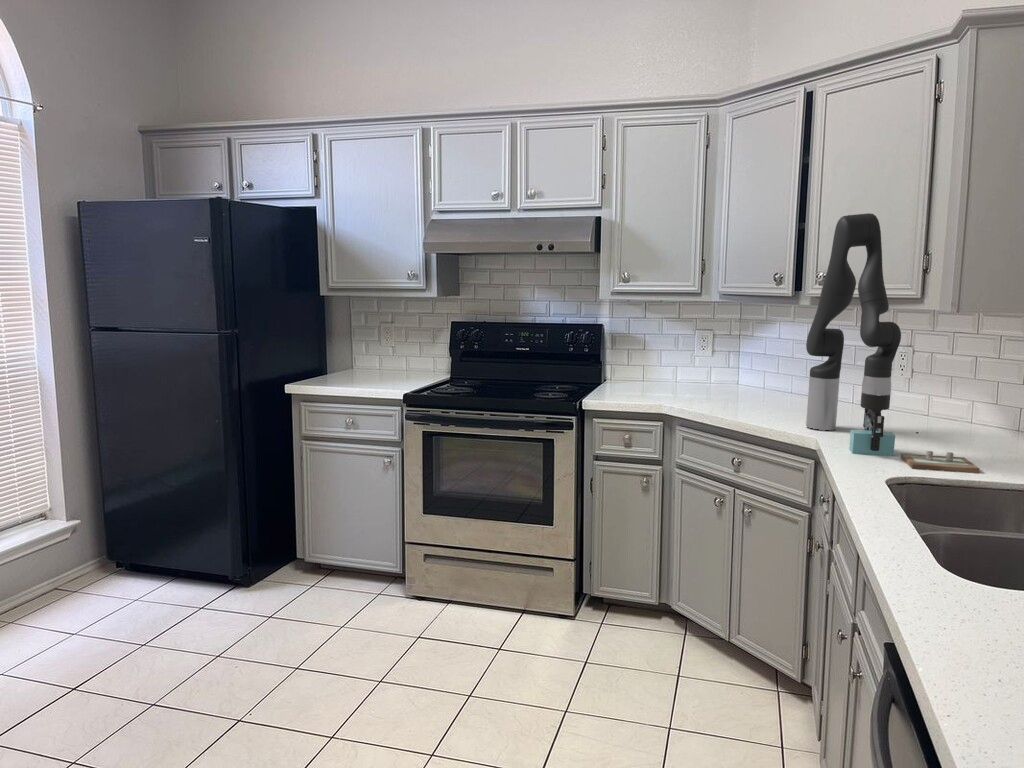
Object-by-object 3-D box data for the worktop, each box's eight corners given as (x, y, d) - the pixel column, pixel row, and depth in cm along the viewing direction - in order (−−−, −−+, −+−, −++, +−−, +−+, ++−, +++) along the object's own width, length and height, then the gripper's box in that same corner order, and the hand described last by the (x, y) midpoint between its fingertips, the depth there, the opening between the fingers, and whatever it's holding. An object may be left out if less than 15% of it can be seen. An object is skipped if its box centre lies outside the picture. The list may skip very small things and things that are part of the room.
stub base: (900, 457, 214) (902, 445, 213) (964, 461, 210) (965, 449, 209) (912, 468, 202) (913, 455, 202) (979, 473, 198) (980, 459, 198)
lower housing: (849, 449, 223) (850, 429, 222) (889, 451, 220) (891, 431, 219) (852, 453, 218) (854, 433, 217) (893, 456, 215) (895, 435, 215)
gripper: (857, 387, 224) (852, 440, 227) (866, 395, 210) (862, 452, 213) (884, 388, 222) (880, 442, 225) (896, 396, 209) (891, 453, 211)
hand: (871, 447), depth 219 cm, fingers open, 8 cm apart
